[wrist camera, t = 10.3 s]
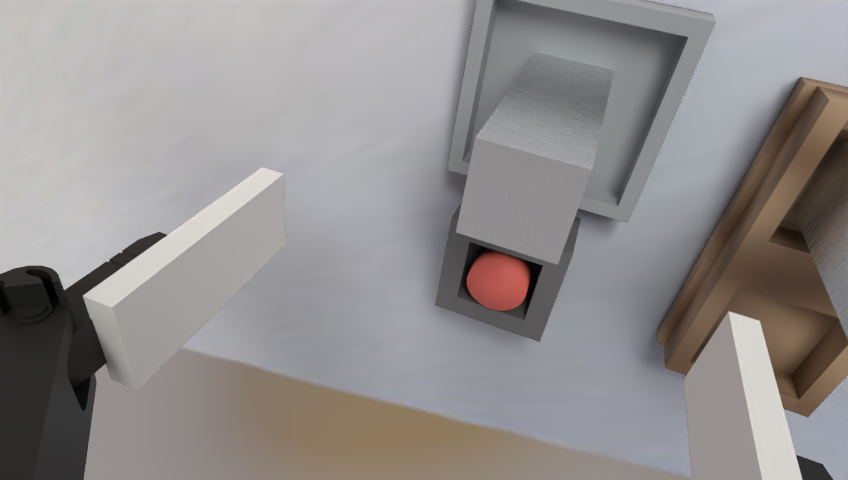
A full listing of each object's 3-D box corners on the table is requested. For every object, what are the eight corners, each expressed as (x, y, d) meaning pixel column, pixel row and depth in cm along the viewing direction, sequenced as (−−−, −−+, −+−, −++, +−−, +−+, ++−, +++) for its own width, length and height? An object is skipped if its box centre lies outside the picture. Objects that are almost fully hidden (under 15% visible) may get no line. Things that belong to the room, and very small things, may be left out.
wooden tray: (800, 77, 24) (816, 96, 22) (1029, 127, 22) (1073, 155, 20) (656, 332, 34) (656, 364, 32) (805, 381, 32) (817, 420, 30)
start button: (479, 240, 32) (472, 253, 30) (537, 258, 31) (532, 273, 30) (468, 284, 34) (462, 298, 32) (523, 302, 33) (518, 318, 32)
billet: (537, 52, 27) (475, 137, 18) (614, 70, 26) (592, 170, 17) (519, 123, 29) (455, 232, 20) (589, 142, 29) (557, 264, 19)
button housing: (471, 186, 33) (452, 217, 30) (580, 218, 32) (572, 254, 29) (453, 270, 37) (435, 305, 34) (549, 302, 36) (539, 341, 33)
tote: (491, -32, 26) (481, -27, 25) (712, 13, 24) (715, 22, 22) (456, 156, 32) (446, 169, 31) (628, 206, 30) (627, 222, 29)
